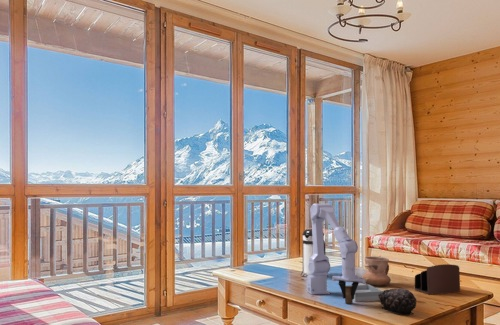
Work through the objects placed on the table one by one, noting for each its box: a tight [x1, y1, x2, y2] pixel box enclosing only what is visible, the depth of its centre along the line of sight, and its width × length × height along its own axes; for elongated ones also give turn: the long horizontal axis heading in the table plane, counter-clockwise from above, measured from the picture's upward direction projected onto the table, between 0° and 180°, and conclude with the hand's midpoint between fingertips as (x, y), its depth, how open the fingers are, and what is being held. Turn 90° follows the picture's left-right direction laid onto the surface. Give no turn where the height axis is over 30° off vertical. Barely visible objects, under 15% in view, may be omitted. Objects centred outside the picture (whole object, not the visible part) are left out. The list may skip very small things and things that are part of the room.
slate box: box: [347, 284, 384, 303], centre depth 200 cm, size 14×14×4 cm
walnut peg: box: [344, 285, 354, 305], centre depth 189 cm, size 3×3×7 cm
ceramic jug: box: [361, 255, 392, 287], centre depth 226 cm, size 18×14×14 cm
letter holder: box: [414, 263, 461, 296], centre depth 213 cm, size 10×20×14 cm, turn 108°
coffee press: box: [300, 225, 326, 277], centre depth 248 cm, size 17×16×30 cm
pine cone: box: [378, 287, 417, 316], centre depth 178 cm, size 10×18×10 cm, turn 36°
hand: (348, 298), depth 189 cm, fingers closed on walnut peg, 3 cm apart
